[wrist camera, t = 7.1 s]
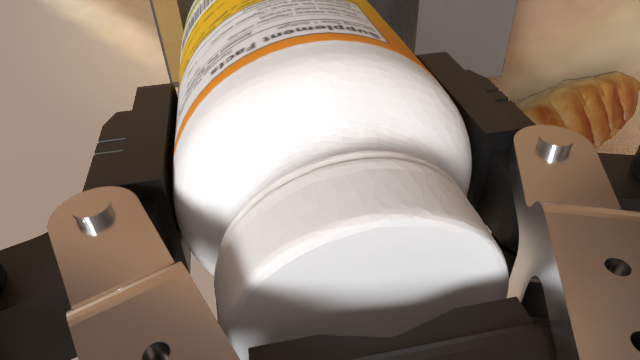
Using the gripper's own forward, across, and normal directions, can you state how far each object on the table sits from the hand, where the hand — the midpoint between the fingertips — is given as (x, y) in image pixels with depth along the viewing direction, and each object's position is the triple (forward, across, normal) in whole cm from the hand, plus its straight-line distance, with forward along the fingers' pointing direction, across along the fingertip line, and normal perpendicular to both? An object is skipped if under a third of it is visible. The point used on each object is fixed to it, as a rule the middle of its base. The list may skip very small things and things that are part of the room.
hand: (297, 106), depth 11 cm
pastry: (+16, -20, +12) cm, 29 cm away
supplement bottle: (+4, 0, 0) cm, 4 cm away
